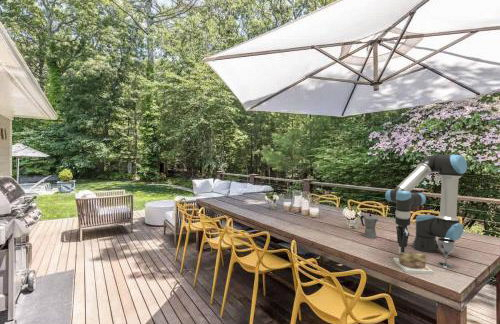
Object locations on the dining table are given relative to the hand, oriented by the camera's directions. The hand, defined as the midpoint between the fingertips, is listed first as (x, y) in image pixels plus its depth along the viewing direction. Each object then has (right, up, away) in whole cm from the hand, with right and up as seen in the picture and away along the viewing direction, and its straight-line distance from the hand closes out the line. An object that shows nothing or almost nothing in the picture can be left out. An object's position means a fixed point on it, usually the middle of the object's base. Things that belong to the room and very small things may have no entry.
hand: (401, 257), depth 160 cm
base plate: (+5, -5, -2) cm, 7 cm away
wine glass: (+26, -5, 0) cm, 27 cm away
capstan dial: (+5, -3, -2) cm, 6 cm away
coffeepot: (+5, -3, +56) cm, 57 cm away
